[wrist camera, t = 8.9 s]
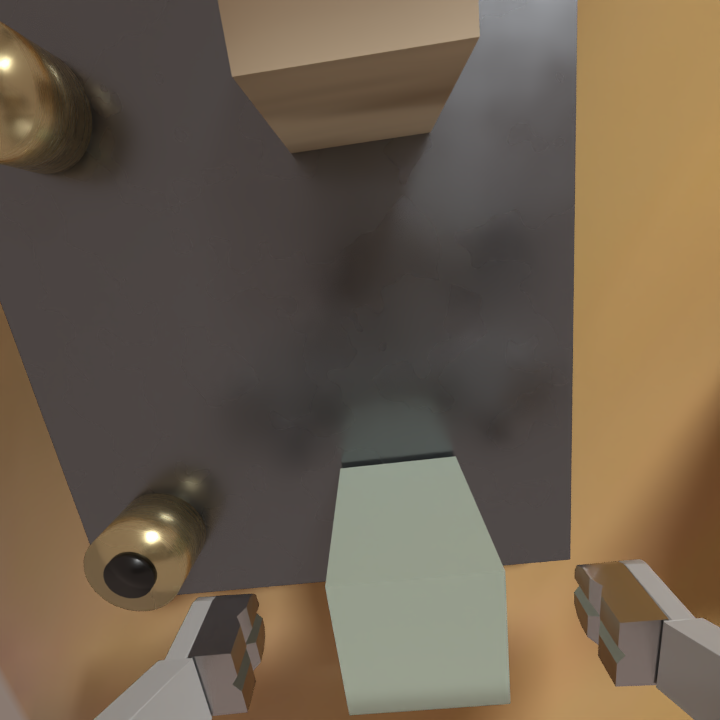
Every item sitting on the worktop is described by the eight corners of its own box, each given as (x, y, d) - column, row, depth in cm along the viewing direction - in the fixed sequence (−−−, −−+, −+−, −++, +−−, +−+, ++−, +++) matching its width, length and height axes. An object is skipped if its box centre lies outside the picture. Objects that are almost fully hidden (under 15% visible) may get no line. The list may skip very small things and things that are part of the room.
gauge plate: (-35, 42, 12) (-236, -63, 8) (542, -58, 11) (641, -233, 7) (139, 562, 17) (69, 657, 13) (546, 523, 17) (605, 612, 12)
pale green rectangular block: (340, 468, 14) (324, 586, 9) (455, 456, 13) (504, 570, 9) (355, 562, 15) (349, 715, 10) (462, 552, 14) (510, 703, 10)
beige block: (263, -16, 10) (169, -260, 5) (417, -42, 10) (464, -324, 5) (290, 153, 11) (232, 76, 6) (430, 132, 11) (479, 35, 6)
